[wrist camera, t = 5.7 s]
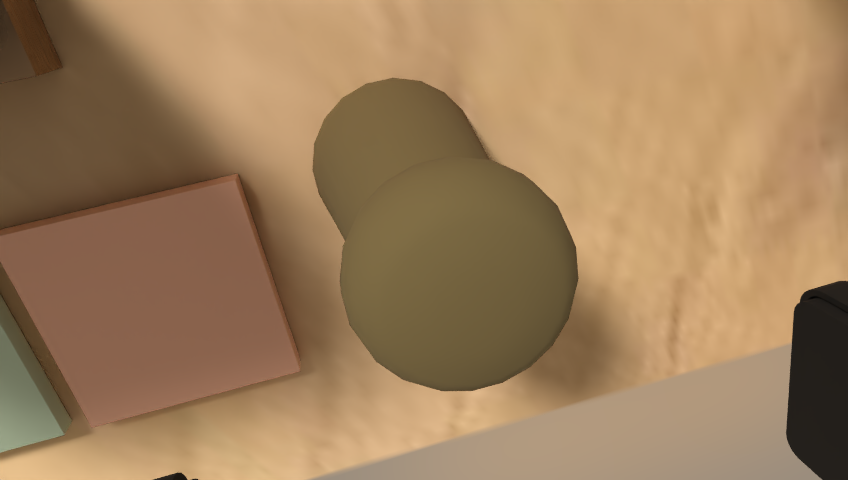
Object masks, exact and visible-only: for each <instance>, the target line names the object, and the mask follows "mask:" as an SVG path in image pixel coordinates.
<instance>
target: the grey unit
mask: <svg viewBox="0 0 848 480" xmlns="http://www.w3.org/2000/svg"><path fill="white" fill-rule="evenodd" d="M59 68H62V65H61V63H60V60H59V58H58V56H57V53H56V51H55V49H54V46H53V44H52V42H51V40H50V37H49V35H48V33H47V30H46V28H45V26H44V23H43V21H42V19H41V16H40V14H39V12H38V10H37V7H36V5H35V3H34V0H0V84H1V83H5V82H10V81H15V80H19V79H24V78H29V77H34V76H38V75H41V74H44V73H47V72H50V71H53V70H56V69H59Z"/></svg>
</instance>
